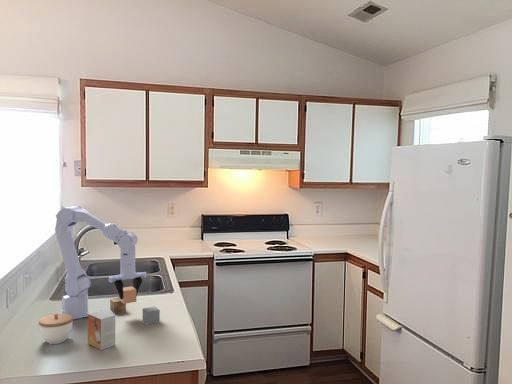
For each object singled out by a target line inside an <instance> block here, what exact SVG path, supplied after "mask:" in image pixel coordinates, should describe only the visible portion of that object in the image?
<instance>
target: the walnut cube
mask: <svg viewBox="0 0 512 384" xmlns="http://www.w3.org/2000/svg"><path fill="white" fill-rule="evenodd" d="M109 303H110V304H109V305H110V307H109V309H110V310H111V311H112V312H113V313H116V314H119V313H118V312H122V313H124V312H123V311H126V312H127V303H126V304H123V303H122V302H121V301H120V298H119V297H115V298H110V299H109ZM111 311H110V312H111ZM112 312H111V313H112ZM113 313H112V314H113Z"/></svg>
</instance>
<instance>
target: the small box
mask: <svg viewBox="0 0 512 384" xmlns="http://www.w3.org/2000/svg"><path fill="white" fill-rule="evenodd" d="M89 313H90V314H88V317H87V344H88V345H90V346H92V347H94V348H96V349H98V350H99V351H103V350H105V349H108V348H110V347H114V346H115V345H116V314H113V313H110V312H107V311H104V310H102V309H101V310H98V311H97V310H96V311H95V312H89Z"/></svg>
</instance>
